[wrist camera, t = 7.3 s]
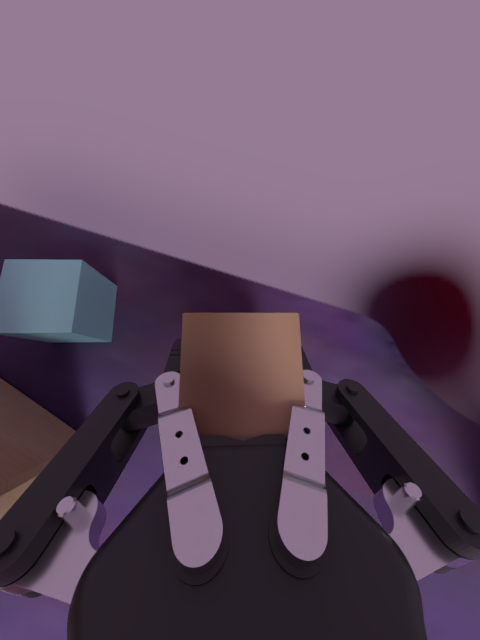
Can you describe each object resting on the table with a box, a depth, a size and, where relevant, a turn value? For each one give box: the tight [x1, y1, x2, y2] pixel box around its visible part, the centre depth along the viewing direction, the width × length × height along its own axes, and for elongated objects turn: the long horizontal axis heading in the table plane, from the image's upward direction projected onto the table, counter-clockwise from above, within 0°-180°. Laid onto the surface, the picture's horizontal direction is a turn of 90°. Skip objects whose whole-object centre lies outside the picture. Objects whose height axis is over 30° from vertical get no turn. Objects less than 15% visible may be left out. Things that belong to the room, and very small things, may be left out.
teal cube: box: [0, 259, 117, 343], centre depth 17 cm, size 5×5×5 cm
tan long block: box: [178, 313, 305, 440], centre depth 14 cm, size 5×5×10 cm
